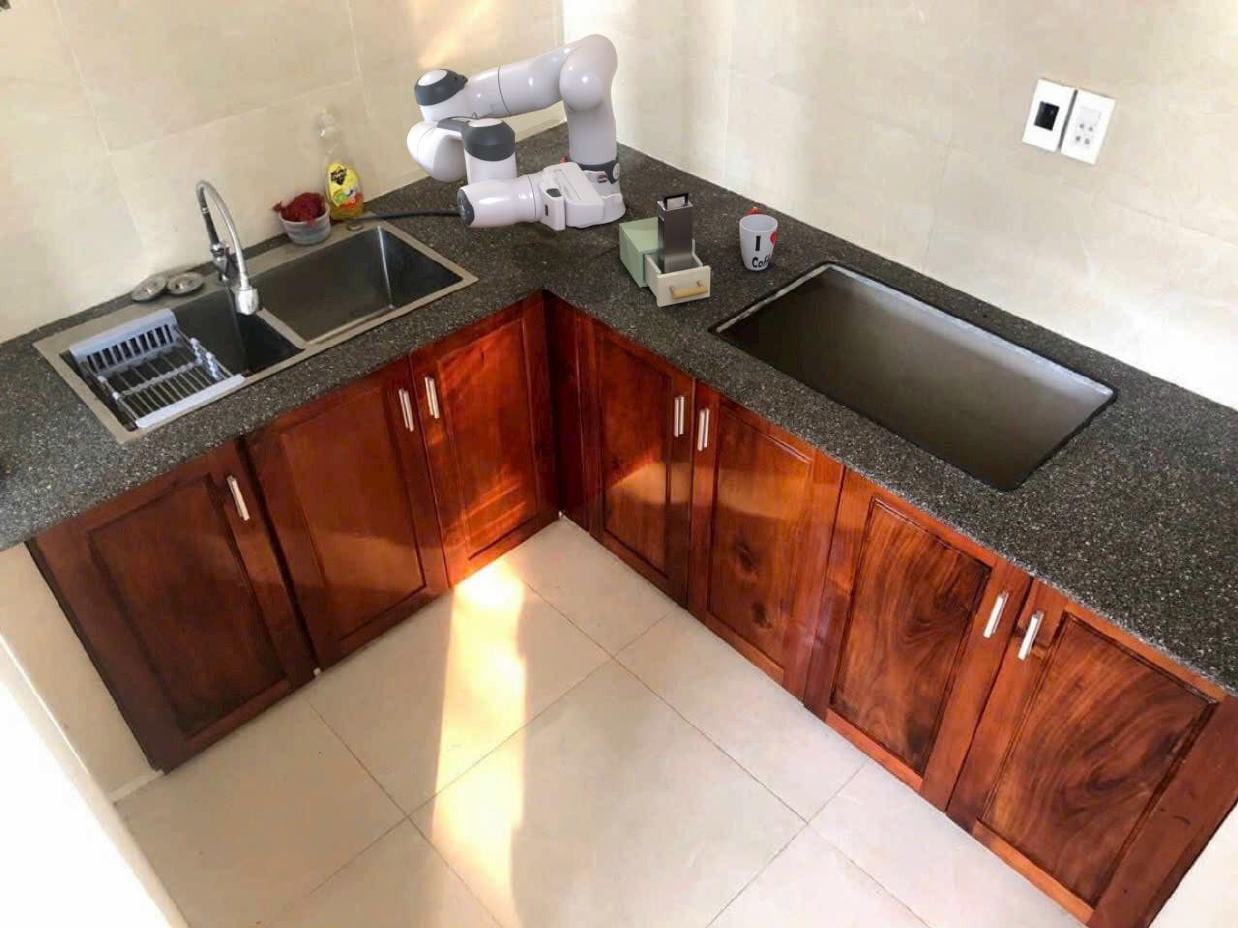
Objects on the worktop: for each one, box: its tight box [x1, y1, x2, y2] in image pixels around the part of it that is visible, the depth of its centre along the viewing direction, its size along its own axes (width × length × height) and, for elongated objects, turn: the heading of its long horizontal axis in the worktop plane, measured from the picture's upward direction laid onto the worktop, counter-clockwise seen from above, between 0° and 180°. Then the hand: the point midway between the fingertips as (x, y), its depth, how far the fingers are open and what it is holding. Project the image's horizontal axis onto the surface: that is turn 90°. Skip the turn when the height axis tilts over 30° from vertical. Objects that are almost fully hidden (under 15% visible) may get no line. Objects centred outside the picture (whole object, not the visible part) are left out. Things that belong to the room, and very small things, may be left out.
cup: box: [739, 214, 778, 271], centre depth 217 cm, size 8×8×10 cm
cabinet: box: [618, 216, 696, 288], centre depth 218 cm, size 14×13×9 cm
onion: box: [744, 205, 766, 217], centre depth 227 cm, size 6×6×8 cm
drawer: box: [643, 251, 711, 308], centre depth 208 cm, size 17×11×7 cm
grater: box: [657, 189, 694, 275], centre depth 204 cm, size 5×6×21 cm
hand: (613, 186), depth 193 cm, fingers open, 8 cm apart
